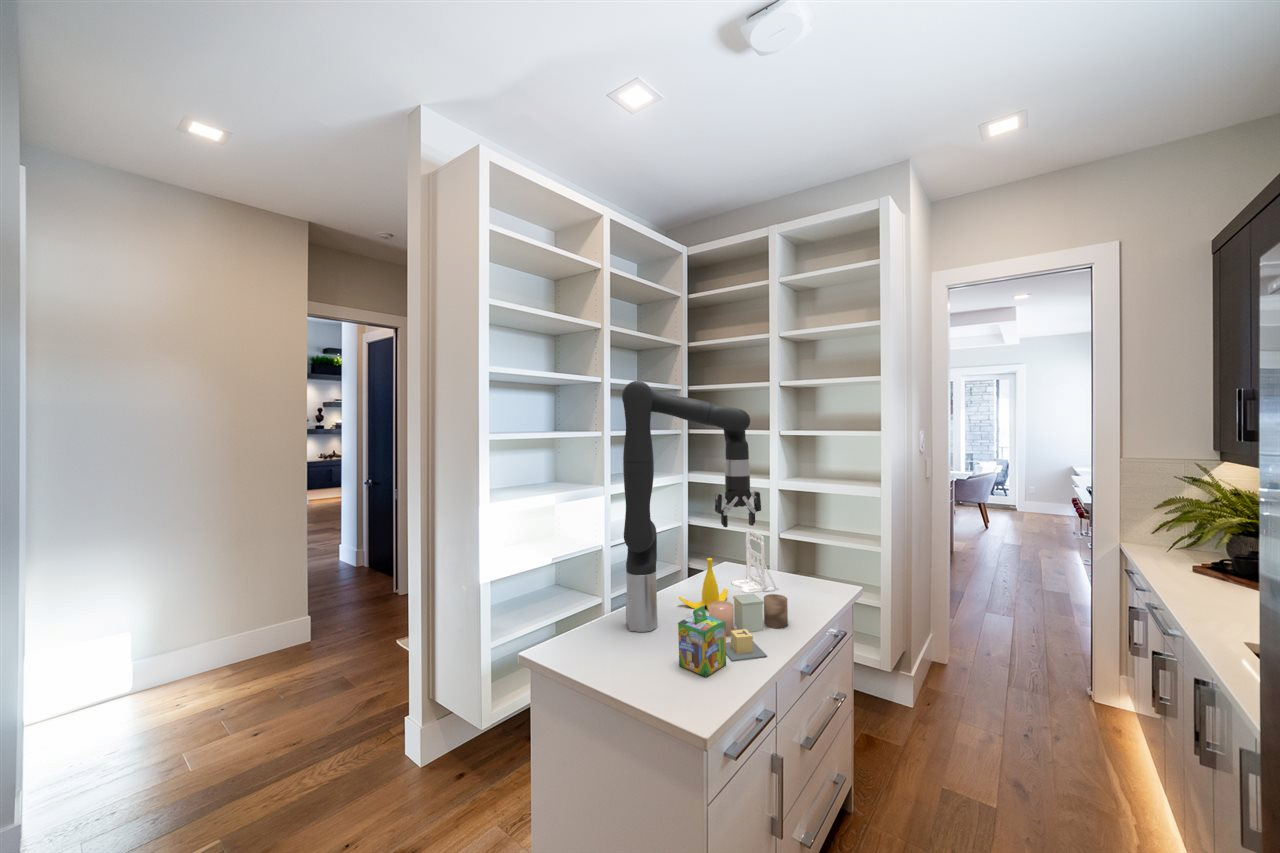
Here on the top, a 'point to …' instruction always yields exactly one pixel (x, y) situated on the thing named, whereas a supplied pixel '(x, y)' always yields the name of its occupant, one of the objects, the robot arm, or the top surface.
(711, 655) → the chalk box
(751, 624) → the pale green square canister
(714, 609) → the canister
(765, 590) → the film strip holder
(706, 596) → the banana peel
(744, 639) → the letter cube
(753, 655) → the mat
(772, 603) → the canister
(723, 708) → the top surface
